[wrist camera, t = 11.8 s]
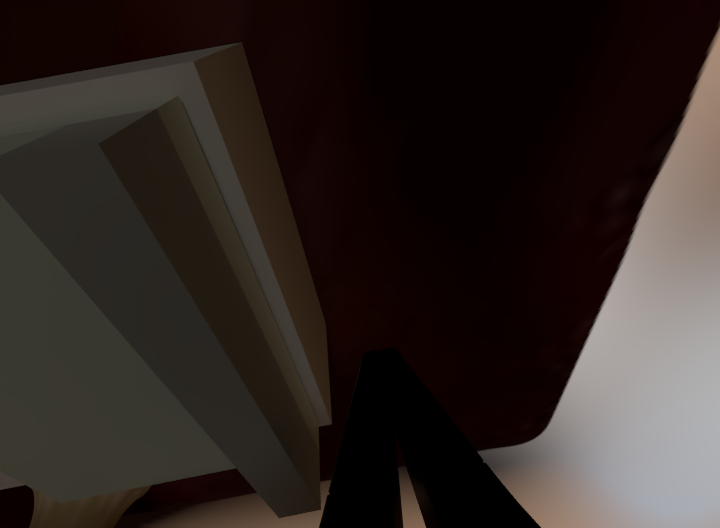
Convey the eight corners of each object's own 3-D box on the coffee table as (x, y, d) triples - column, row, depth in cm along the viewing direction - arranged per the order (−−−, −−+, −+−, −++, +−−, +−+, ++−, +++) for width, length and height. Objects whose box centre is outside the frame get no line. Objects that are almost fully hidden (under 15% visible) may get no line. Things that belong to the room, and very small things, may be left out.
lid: (178, 95, 7) (98, 143, 4) (318, 423, 15) (320, 509, 12) (-357, 192, 7) (-782, 305, 4) (76, 470, 14) (26, 569, 12)
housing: (241, 42, 11) (192, 61, 6) (325, 324, 20) (331, 424, 15) (-425, 162, 11) (-996, 276, 6) (-50, 397, 19) (-168, 523, 15)
